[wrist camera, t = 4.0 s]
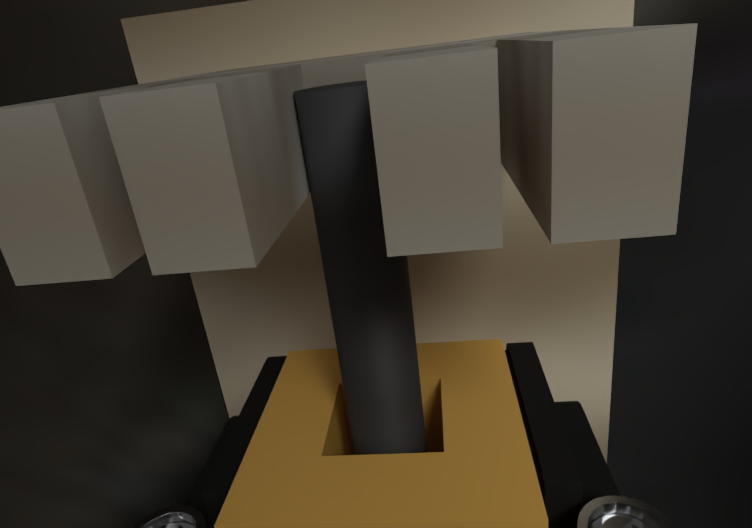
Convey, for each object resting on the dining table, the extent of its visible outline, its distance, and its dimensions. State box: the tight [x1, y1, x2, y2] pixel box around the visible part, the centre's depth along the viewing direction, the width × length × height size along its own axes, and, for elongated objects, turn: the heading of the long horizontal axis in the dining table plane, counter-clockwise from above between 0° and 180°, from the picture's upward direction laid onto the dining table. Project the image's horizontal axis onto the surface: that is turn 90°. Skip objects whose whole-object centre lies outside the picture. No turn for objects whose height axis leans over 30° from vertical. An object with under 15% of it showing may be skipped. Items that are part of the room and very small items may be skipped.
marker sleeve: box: [214, 339, 548, 528], centre depth 9 cm, size 4×4×4 cm
